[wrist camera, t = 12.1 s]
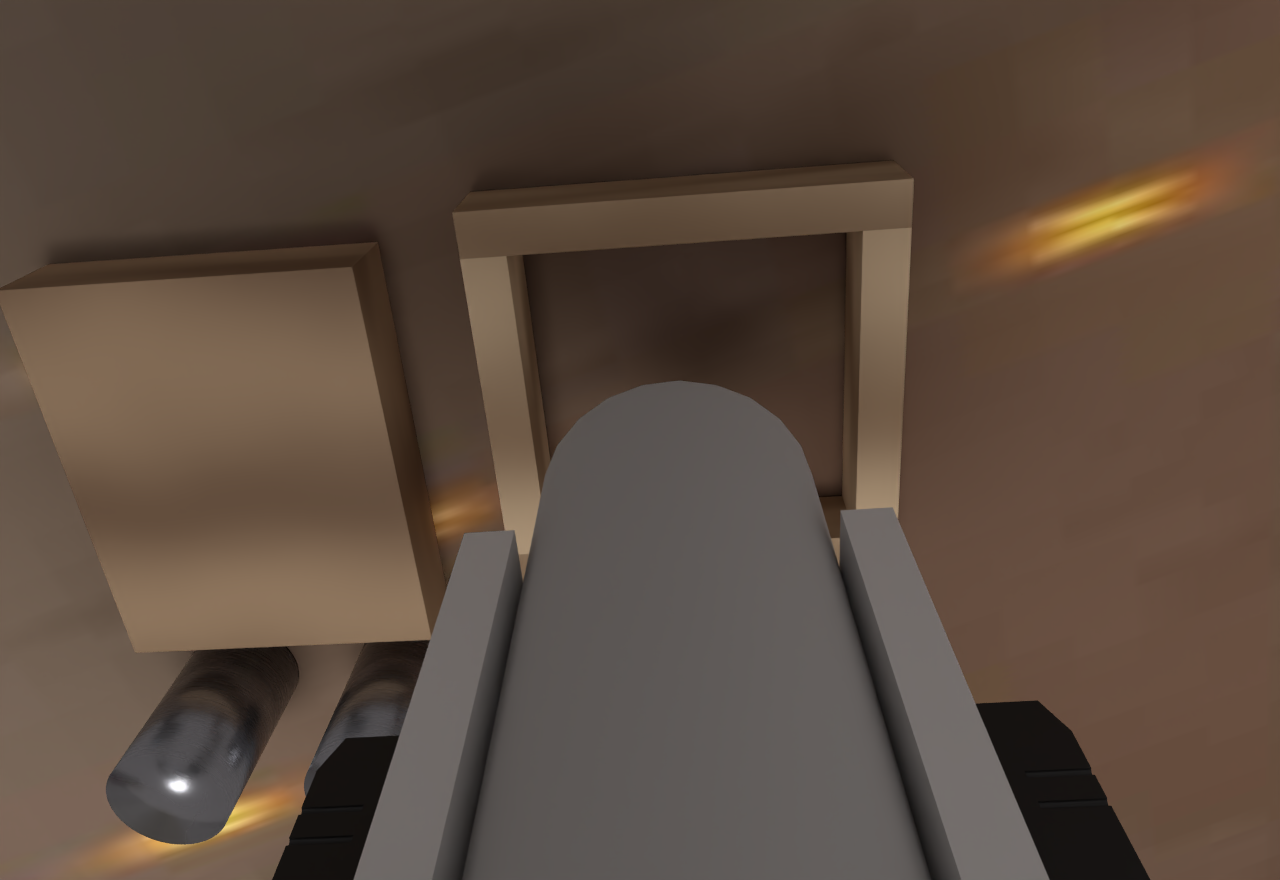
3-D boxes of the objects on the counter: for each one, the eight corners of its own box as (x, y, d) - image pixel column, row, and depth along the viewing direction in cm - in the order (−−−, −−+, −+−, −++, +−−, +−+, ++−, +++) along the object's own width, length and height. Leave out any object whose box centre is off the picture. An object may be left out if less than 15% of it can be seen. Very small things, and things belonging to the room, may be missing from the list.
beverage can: (819, 366, 16) (1126, 1153, 6) (800, 596, 19) (995, 1471, 8) (538, 366, 16) (324, 1145, 6) (552, 594, 19) (416, 1460, 8)
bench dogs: (183, 629, 28) (89, 758, 23) (456, 616, 27) (414, 745, 23) (211, 709, 29) (128, 846, 24) (473, 698, 28) (436, 835, 24)
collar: (470, 192, 22) (451, 212, 20) (893, 160, 21) (914, 178, 19) (524, 545, 26) (514, 588, 24) (879, 526, 25) (895, 569, 24)
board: (59, 259, 23) (-6, 290, 21) (383, 236, 23) (352, 267, 21) (178, 597, 28) (135, 652, 25) (451, 584, 27) (432, 639, 25)
